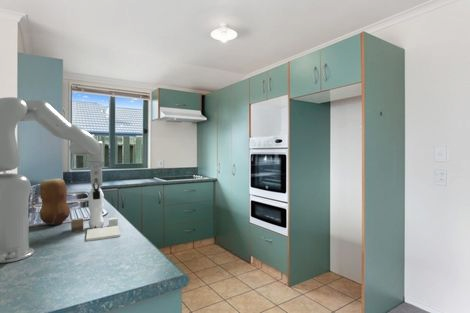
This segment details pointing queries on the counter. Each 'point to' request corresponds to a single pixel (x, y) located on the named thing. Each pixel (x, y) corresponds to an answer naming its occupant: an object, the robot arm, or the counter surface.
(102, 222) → the water bottle
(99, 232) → the placemat
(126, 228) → the counter surface
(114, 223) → the pale grey block
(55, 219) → the butternut squash
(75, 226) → the walnut block
